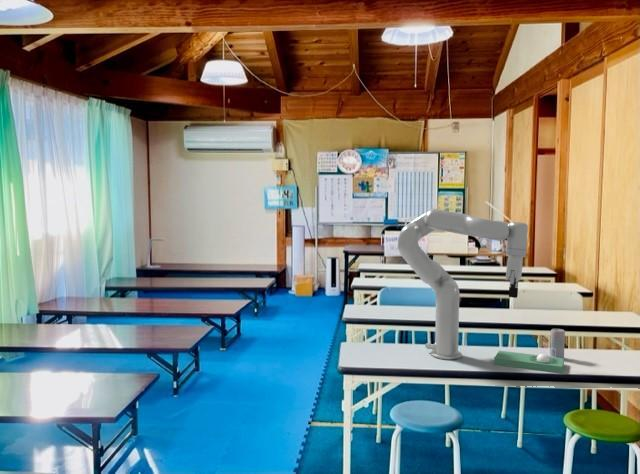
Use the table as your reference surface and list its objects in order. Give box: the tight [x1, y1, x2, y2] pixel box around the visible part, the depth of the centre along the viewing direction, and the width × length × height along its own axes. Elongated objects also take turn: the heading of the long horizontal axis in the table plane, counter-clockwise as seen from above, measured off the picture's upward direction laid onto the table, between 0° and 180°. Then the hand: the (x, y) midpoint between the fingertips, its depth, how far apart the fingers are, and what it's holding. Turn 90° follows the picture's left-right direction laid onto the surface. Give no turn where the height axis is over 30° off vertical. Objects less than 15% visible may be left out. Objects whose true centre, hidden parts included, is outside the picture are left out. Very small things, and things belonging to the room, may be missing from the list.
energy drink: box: [549, 328, 566, 359], centre depth 228 cm, size 5×5×12 cm
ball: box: [537, 353, 550, 363], centre depth 217 cm, size 5×5×5 cm
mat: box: [493, 350, 565, 374], centre depth 220 cm, size 25×12×2 cm, turn 63°
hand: (513, 297), depth 224 cm, fingers closed
